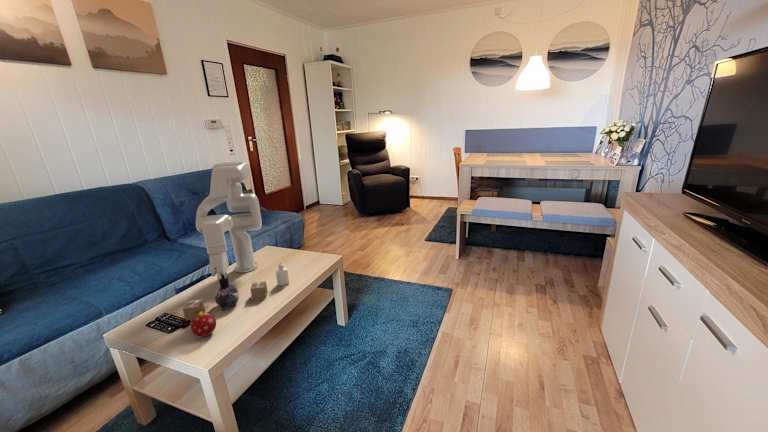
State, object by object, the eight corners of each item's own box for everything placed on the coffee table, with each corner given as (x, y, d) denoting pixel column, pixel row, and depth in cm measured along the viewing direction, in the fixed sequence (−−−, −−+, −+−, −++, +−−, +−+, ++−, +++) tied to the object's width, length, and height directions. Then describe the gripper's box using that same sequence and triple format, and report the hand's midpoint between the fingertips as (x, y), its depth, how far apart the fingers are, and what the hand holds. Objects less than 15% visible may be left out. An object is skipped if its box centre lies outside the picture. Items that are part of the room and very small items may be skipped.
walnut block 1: (254, 294, 150) (252, 282, 148) (267, 292, 151) (265, 280, 149) (252, 300, 144) (250, 288, 142) (266, 298, 146) (264, 286, 144)
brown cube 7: (190, 313, 136) (187, 300, 134) (205, 311, 137) (202, 298, 136) (185, 321, 131) (182, 308, 129) (201, 318, 132) (198, 306, 130)
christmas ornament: (214, 339, 118) (209, 316, 116) (189, 343, 117) (183, 320, 114) (220, 325, 126) (215, 304, 124) (197, 329, 125) (192, 307, 122)
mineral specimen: (221, 295, 146) (225, 277, 143) (241, 304, 146) (246, 286, 143) (207, 306, 137) (211, 287, 134) (228, 315, 137) (233, 297, 134)
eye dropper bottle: (280, 281, 161) (276, 260, 157) (290, 281, 160) (287, 260, 156) (276, 285, 156) (272, 264, 153) (286, 286, 156) (283, 264, 152)
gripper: (212, 243, 139) (220, 279, 145) (201, 256, 125) (210, 296, 131) (230, 241, 141) (237, 277, 146) (221, 253, 127) (230, 293, 132)
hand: (224, 286), depth 139 cm, fingers closed
